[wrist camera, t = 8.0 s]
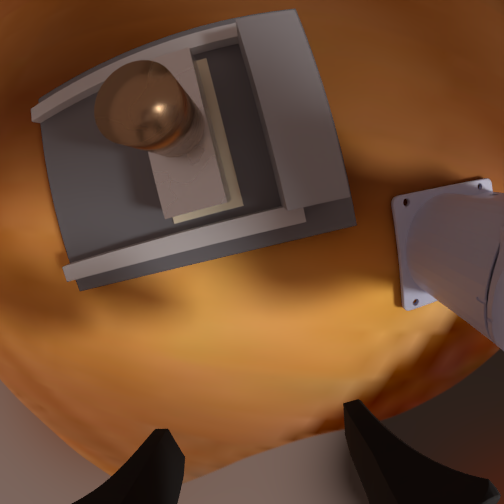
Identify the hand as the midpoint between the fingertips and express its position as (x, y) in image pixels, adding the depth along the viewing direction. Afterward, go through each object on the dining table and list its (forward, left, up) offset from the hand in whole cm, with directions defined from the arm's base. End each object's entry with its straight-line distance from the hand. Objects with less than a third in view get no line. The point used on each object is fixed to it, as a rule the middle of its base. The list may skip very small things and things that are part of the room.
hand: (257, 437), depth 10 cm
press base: (+2, -13, -10) cm, 16 cm away
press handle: (+1, -13, -8) cm, 15 cm away
